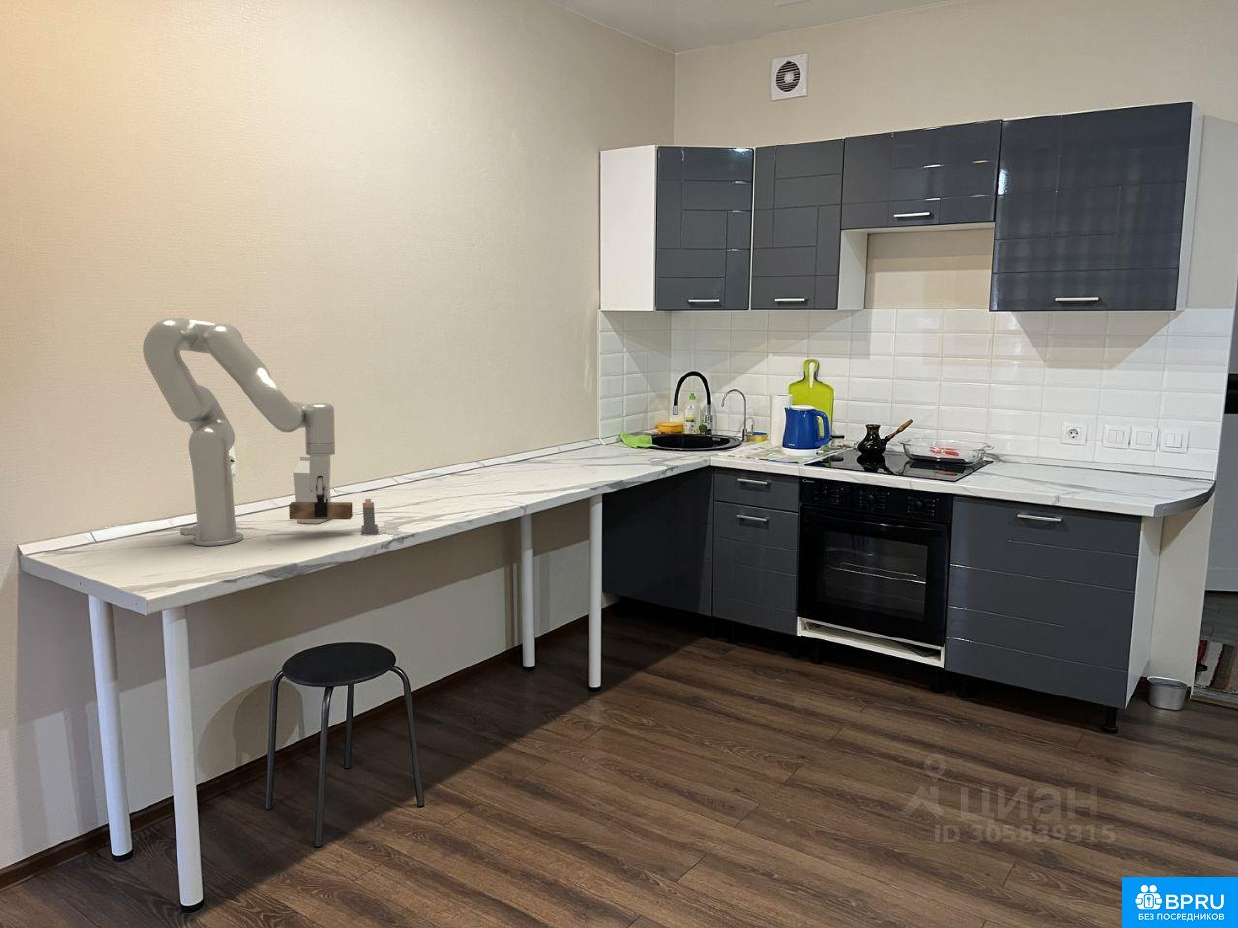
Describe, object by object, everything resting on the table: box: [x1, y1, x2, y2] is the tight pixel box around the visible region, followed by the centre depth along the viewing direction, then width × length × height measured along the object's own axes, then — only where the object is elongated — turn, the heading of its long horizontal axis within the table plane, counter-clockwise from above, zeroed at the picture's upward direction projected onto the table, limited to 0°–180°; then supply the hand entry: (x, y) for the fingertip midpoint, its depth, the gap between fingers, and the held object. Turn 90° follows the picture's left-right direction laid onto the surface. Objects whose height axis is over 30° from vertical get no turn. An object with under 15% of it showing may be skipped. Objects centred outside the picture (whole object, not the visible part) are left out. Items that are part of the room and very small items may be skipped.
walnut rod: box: [288, 501, 354, 521], centre depth 259 cm, size 16×4×4 cm, turn 97°
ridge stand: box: [361, 498, 379, 536], centre depth 262 cm, size 4×7×9 cm, turn 15°
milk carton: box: [293, 456, 332, 525], centre depth 276 cm, size 7×7×19 cm
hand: (321, 514), depth 259 cm, fingers closed on walnut rod, 4 cm apart
